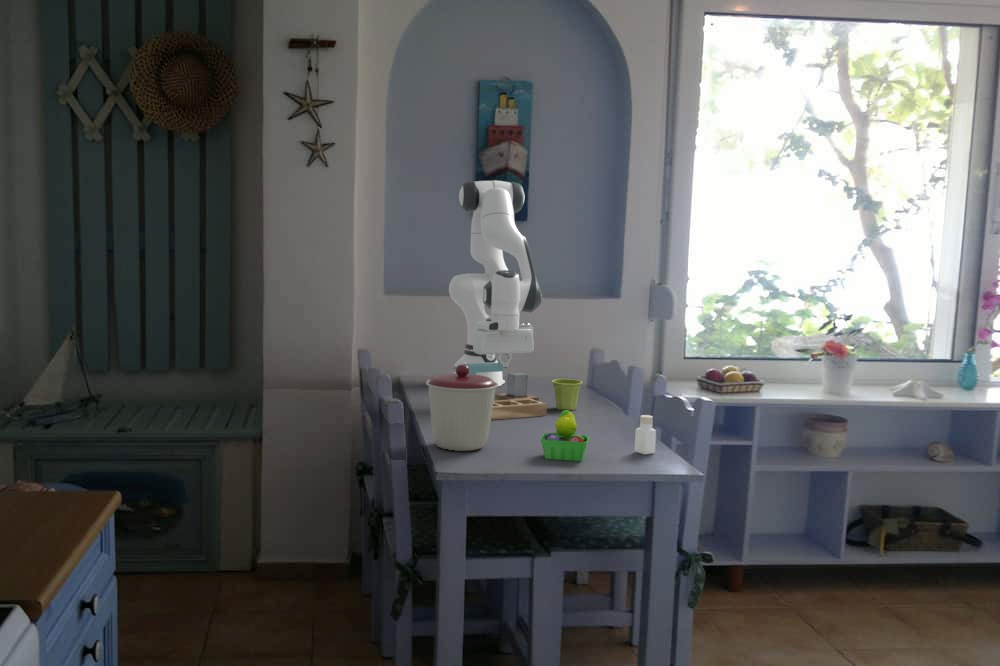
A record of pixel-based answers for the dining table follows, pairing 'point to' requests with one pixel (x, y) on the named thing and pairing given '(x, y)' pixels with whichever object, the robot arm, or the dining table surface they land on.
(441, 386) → the canister
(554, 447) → the fruit basket
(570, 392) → the plant pot
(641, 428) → the salt shaker
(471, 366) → the plate
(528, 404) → the rack
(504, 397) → the socket frame
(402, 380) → the dining table surface
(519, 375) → the grey rectangular block
